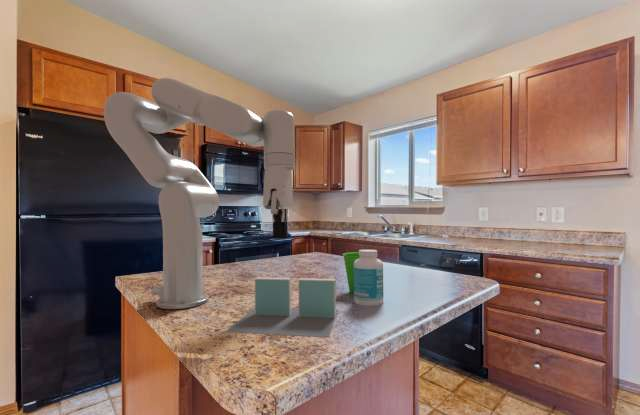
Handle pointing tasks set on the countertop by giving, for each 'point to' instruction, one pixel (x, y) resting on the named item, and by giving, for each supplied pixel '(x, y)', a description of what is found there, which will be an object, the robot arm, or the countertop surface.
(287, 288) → the tile
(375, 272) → the pill bottle
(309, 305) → the tile
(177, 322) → the countertop surface
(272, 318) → the mat
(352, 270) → the cup
